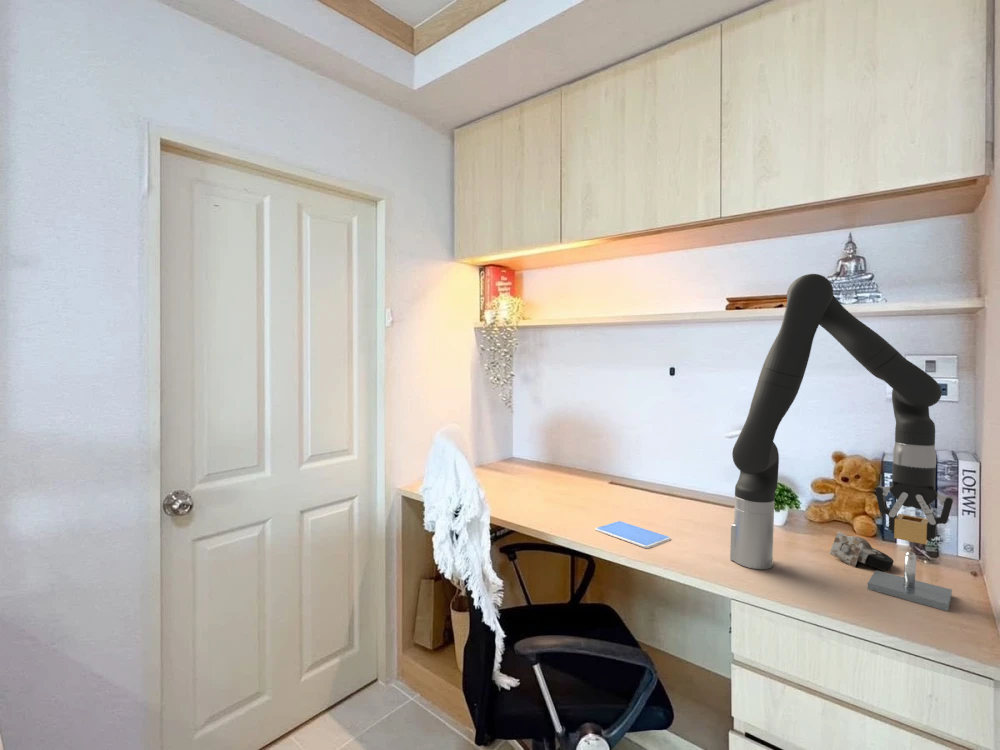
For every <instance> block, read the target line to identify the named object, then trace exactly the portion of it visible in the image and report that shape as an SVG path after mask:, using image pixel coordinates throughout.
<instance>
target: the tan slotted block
mask: <svg viewBox="0 0 1000 750" xmlns="http://www.w3.org/2000/svg"><path fill="white" fill-rule="evenodd" d="M928 523H929V521H928V519H927V517H926V518H924V517H920V516H914V515H909V514H903V513H897V516H896V518H895V526H894V533H893V538H894V539H897V540H901V541H905V542H911V543H917V544H921V545H926V546H927V544H928V542H929V540H927V531H928Z"/></svg>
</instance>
